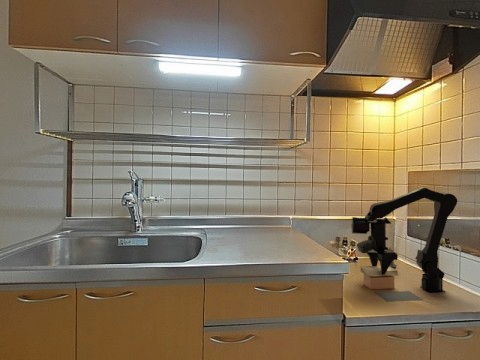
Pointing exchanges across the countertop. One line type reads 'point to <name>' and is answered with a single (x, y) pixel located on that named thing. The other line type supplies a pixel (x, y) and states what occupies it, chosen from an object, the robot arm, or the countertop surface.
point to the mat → (398, 296)
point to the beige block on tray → (377, 271)
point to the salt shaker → (392, 262)
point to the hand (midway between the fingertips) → (378, 271)
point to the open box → (379, 282)
